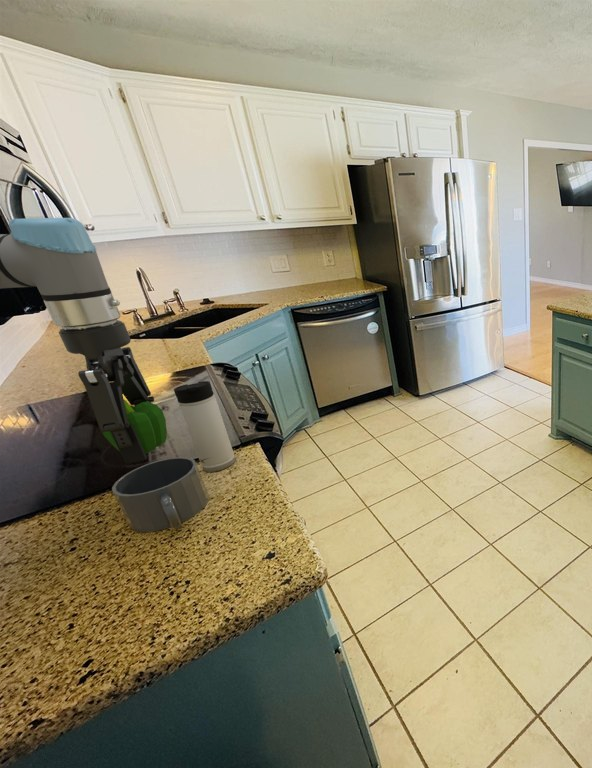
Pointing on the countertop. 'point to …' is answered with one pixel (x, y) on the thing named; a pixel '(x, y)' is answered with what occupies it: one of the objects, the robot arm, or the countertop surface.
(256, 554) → the countertop surface
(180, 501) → the wide gray mug
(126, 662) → the countertop surface
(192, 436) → the travel mug
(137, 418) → the bell pepper
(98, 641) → the countertop surface
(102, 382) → the robot arm
